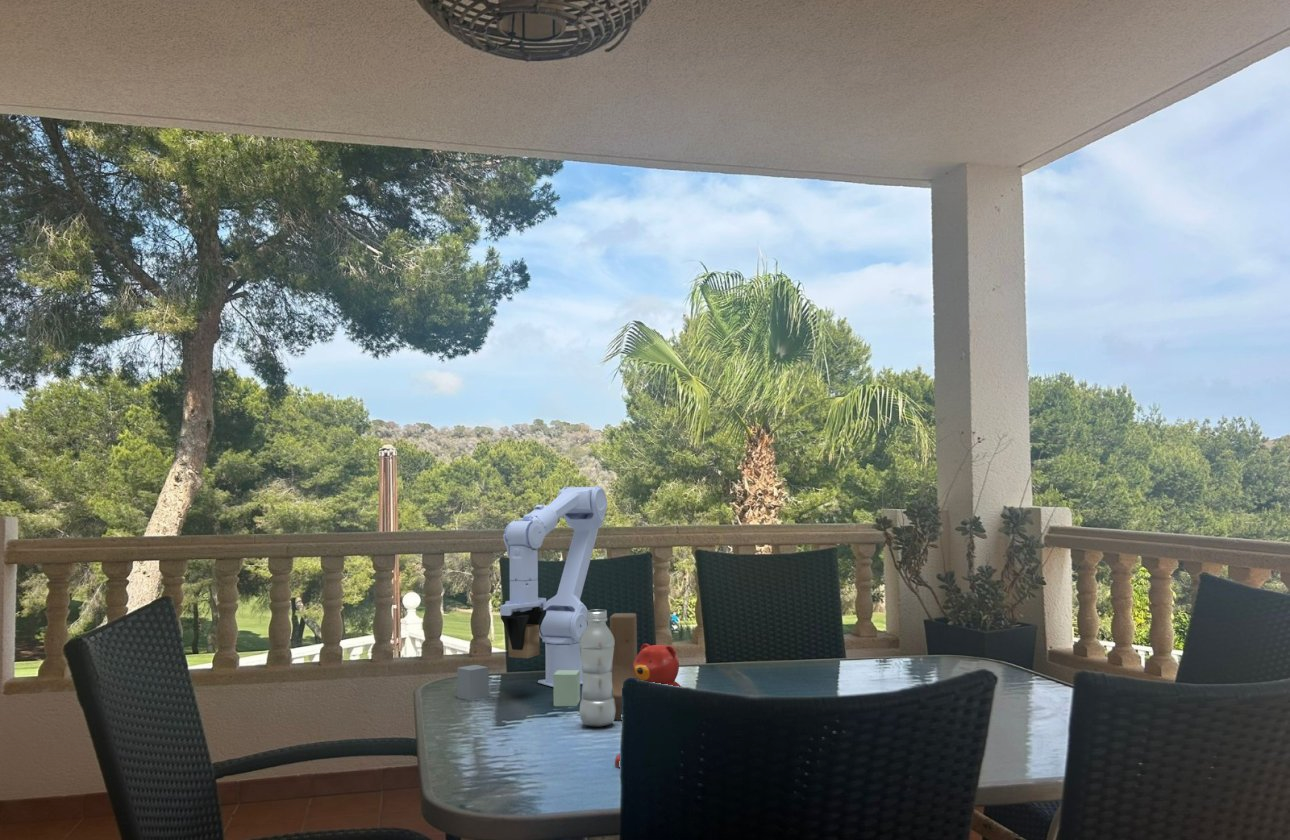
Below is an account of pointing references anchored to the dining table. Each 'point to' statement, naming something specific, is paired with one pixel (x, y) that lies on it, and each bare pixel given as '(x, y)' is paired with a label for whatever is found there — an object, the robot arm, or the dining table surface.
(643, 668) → the stacking bear
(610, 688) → the plastic bottle
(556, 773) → the dining table surface
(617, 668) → the wooden block
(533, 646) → the walnut block
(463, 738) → the dining table surface
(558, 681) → the sage block
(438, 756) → the dining table surface
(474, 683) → the grey block
